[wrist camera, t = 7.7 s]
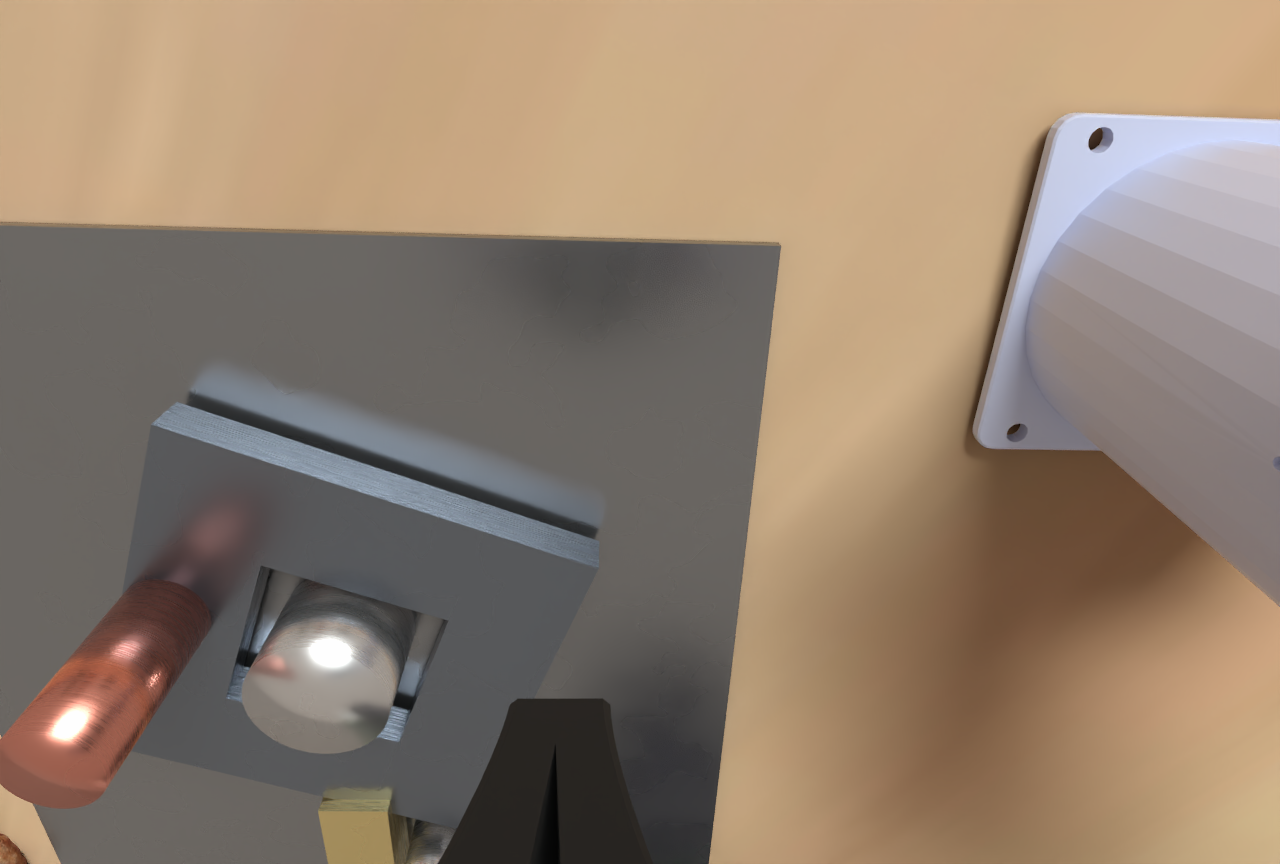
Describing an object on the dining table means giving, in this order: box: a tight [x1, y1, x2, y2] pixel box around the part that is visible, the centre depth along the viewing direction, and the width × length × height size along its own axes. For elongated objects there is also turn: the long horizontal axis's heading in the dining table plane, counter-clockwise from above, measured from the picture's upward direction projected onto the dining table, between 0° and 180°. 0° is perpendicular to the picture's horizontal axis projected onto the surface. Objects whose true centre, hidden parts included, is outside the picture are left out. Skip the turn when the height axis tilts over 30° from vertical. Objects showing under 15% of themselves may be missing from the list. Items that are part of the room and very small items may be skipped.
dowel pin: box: [405, 819, 456, 864], centre depth 25 cm, size 2×2×3 cm
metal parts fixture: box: [0, 402, 599, 864], centre depth 20 cm, size 15×11×6 cm
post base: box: [0, 222, 781, 864], centre depth 21 cm, size 22×22×3 cm
